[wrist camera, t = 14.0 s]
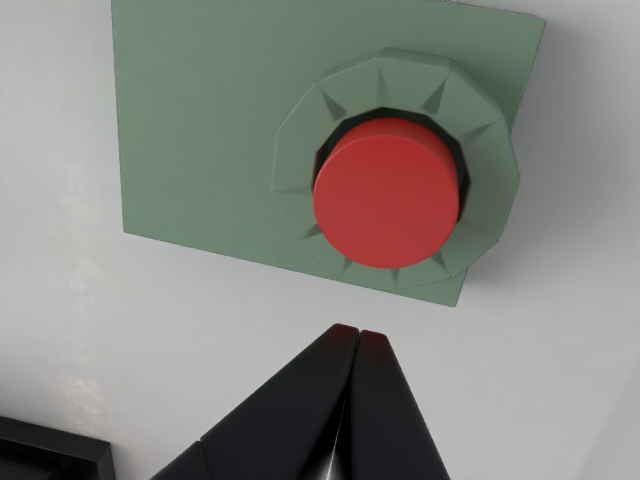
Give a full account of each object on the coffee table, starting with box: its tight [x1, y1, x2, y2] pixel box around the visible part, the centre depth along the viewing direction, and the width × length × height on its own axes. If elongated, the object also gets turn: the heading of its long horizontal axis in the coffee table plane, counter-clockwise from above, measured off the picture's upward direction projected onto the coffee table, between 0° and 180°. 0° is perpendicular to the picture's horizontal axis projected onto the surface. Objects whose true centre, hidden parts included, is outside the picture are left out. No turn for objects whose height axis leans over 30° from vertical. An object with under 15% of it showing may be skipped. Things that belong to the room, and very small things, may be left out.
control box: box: [111, 0, 546, 307], centre depth 16 cm, size 12×9×4 cm
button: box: [313, 117, 459, 269], centre depth 14 cm, size 4×4×2 cm
